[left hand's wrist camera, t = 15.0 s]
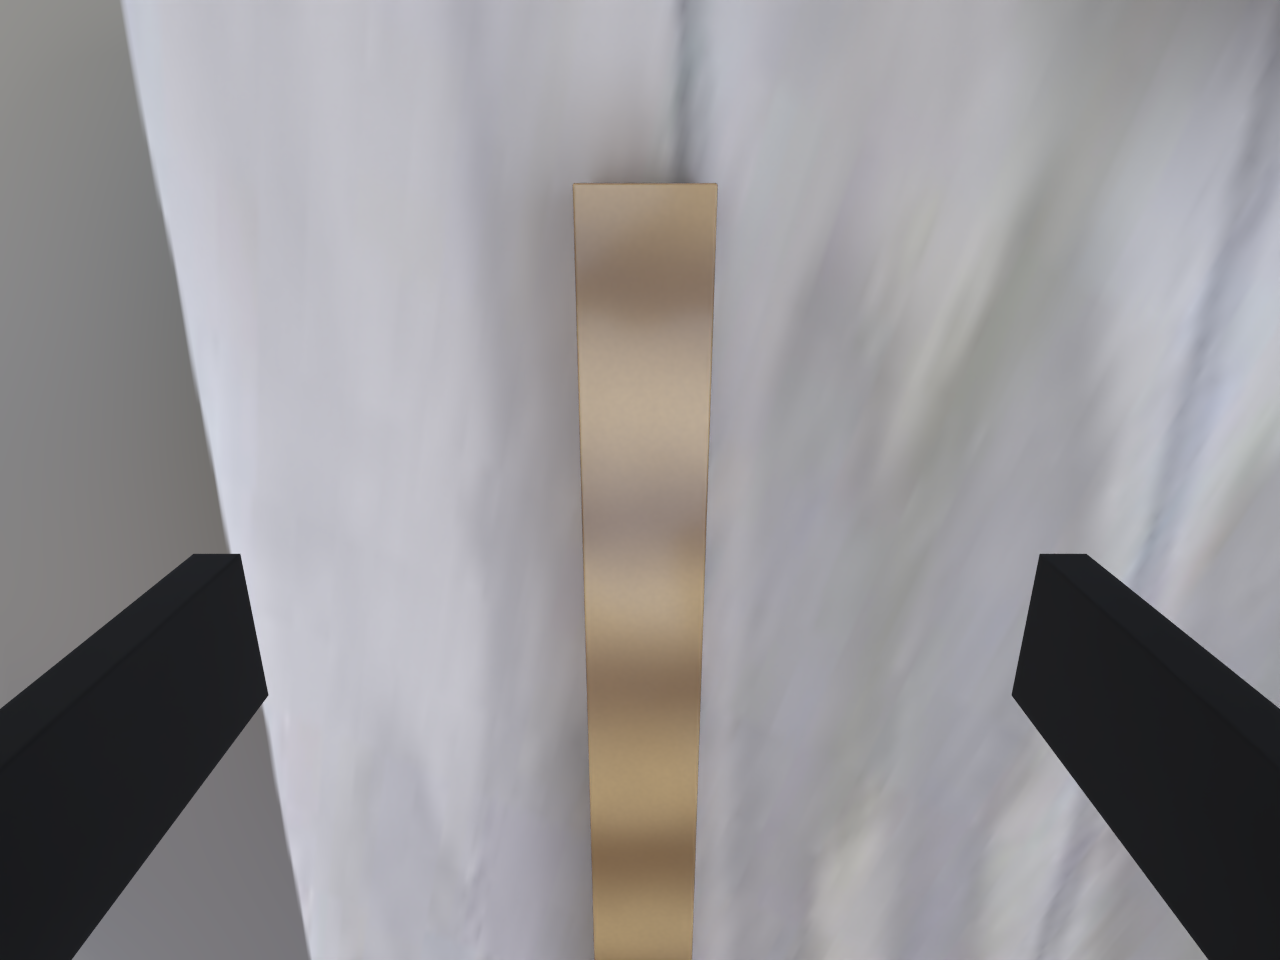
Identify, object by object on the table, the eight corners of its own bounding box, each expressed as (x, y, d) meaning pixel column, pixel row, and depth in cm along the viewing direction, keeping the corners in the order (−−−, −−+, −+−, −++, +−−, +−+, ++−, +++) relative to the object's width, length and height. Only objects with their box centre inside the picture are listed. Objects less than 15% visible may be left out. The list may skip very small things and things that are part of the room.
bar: (587, 185, 35) (572, 183, 27) (700, 185, 35) (717, 183, 27) (607, 1090, 56) (602, 1237, 48) (676, 1090, 56) (682, 1237, 48)
